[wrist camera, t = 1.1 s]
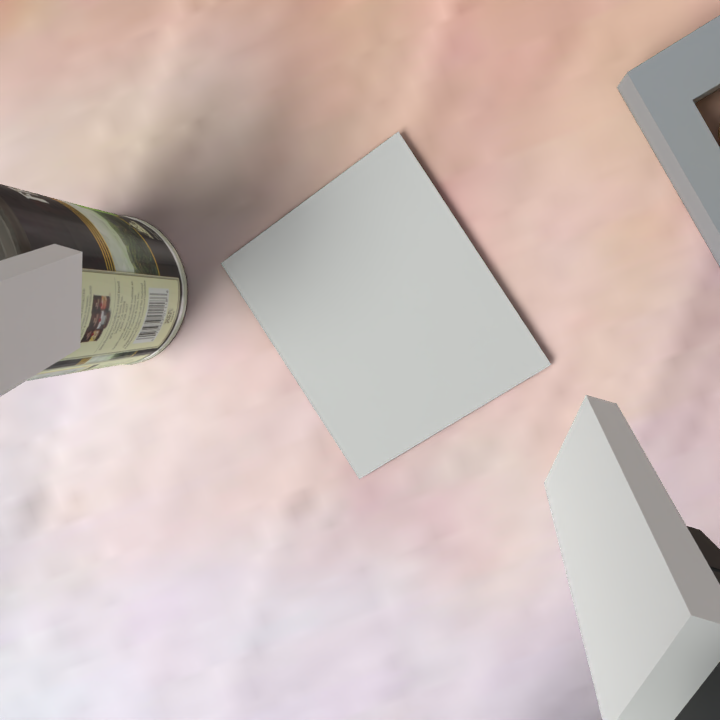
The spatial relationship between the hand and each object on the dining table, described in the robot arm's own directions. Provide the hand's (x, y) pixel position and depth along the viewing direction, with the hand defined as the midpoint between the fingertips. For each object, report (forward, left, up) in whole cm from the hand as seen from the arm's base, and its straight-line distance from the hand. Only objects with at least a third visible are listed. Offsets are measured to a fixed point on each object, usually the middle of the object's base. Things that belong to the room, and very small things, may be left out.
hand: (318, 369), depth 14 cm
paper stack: (-2, -4, -22) cm, 22 cm away
